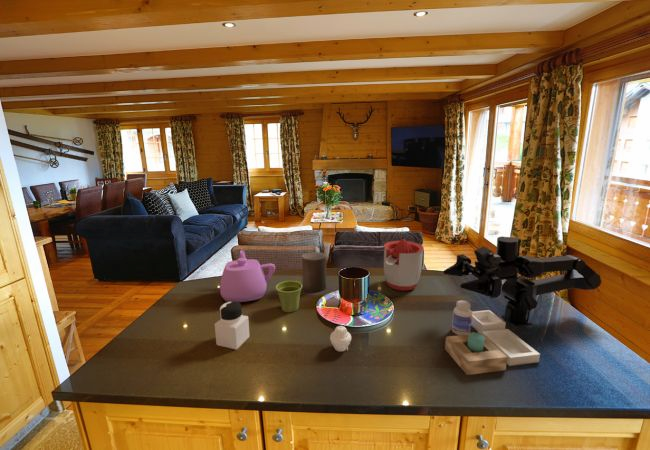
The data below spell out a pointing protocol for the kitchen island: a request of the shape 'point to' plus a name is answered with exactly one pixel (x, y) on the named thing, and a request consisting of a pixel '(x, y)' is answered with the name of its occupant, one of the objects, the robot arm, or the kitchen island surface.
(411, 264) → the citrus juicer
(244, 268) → the teapot
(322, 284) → the pillar candle
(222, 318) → the medicine bottle
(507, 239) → the robot arm
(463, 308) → the pill bottle
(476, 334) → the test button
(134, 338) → the kitchen island surface
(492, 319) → the white tray box
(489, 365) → the square wooden tray
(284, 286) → the plant pot
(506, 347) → the shallow white tray
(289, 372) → the kitchen island surface
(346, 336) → the white rounded piece
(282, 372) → the kitchen island surface
